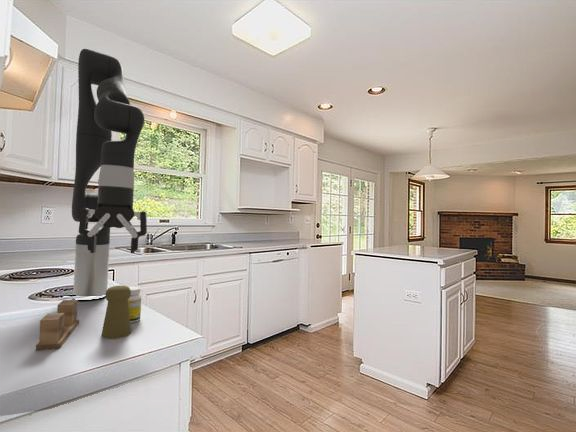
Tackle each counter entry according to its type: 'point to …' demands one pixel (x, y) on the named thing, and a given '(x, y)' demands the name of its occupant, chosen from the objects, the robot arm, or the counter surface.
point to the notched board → (58, 325)
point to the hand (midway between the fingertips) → (113, 252)
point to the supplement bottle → (134, 304)
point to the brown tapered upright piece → (117, 313)
